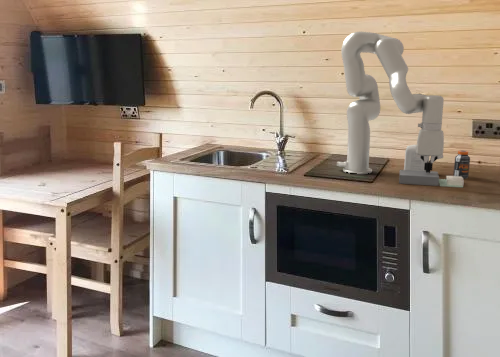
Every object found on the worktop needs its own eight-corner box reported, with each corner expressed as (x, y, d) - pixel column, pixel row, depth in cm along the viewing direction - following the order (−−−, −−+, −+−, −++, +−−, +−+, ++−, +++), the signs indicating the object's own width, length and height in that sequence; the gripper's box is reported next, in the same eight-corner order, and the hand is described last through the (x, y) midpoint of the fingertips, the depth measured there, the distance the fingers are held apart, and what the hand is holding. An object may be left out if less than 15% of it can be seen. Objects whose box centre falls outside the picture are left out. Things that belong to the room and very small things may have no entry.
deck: (398, 183, 213) (399, 175, 212) (399, 177, 223) (399, 169, 222) (438, 185, 209) (439, 177, 208) (436, 179, 219) (437, 171, 218)
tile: (463, 180, 207) (463, 185, 207) (462, 176, 214) (461, 181, 215) (447, 179, 209) (447, 184, 209) (446, 175, 216) (445, 180, 216)
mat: (439, 186, 208) (439, 185, 208) (438, 179, 219) (438, 178, 219) (462, 187, 206) (463, 186, 206) (459, 180, 217) (460, 180, 217)
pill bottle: (458, 179, 220) (460, 152, 218) (450, 176, 226) (452, 149, 224) (471, 178, 222) (473, 151, 219) (463, 175, 227) (465, 149, 225)
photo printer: (428, 172, 233) (430, 144, 231) (427, 174, 230) (429, 146, 227) (404, 170, 237) (406, 143, 235) (403, 172, 233) (405, 144, 231)
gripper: (411, 127, 208) (408, 172, 213) (452, 128, 205) (448, 175, 209) (411, 125, 216) (408, 169, 220) (450, 126, 212) (446, 171, 216)
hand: (427, 172), depth 214 cm, fingers closed
